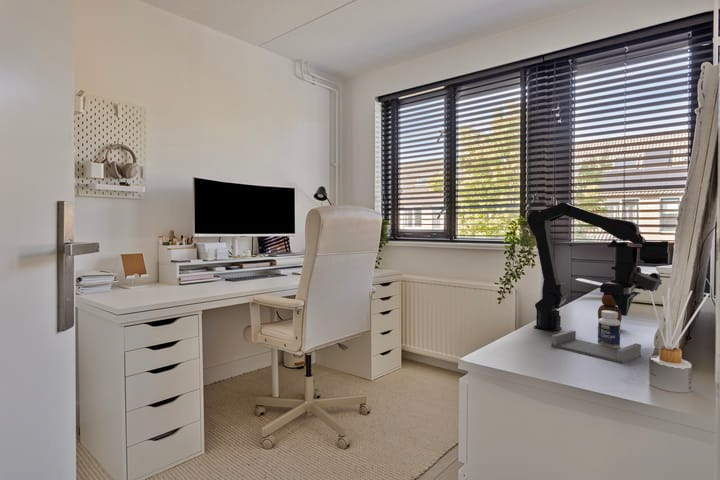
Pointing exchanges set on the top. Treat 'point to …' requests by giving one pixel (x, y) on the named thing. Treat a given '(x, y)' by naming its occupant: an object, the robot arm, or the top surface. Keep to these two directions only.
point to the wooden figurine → (609, 306)
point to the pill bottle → (609, 329)
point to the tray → (595, 348)
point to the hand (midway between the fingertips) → (624, 315)
